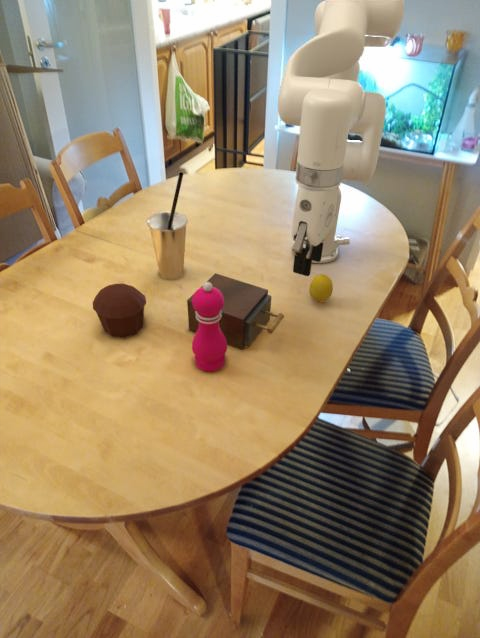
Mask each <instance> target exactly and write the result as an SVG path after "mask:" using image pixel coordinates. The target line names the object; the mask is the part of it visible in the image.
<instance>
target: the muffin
mask: <svg viewBox="0 0 480 638" xmlns="http://www.w3.org/2000/svg"><path fill="white" fill-rule="evenodd" d="M146 305H147V299H146V295H145V294H144V293H143V292H141V291H140V290H138V289H137V288H136V287H135V286H133V285H129V284H127V283H113V284H108V285H106V286H105V287H103V288H101V289H100V290H99V291H98V292H97V294H96V295H95V297H94V299H93V301H92V310H93V311H94V312H95V313H96V315H97V317H98V319H99V322H100V324H101V326H102V328H103V331H104V332H105V333H106V334H108V335H109V336H111V338H121V339H126V338H128V337H131V336H135V335H137V334H138V333H139V332H140V331H141V330H142V329H143V328H144V318H145V317H144V316H145V306H146Z"/></svg>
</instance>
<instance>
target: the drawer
mask: <svg viewBox="0 0 480 638" xmlns="http://www.w3.org/2000/svg"><path fill="white" fill-rule="evenodd" d="M271 308H272V295H269V294H268V295H266V296H265V297H264V299H263V300H262V301H261V302H260V303H259V304H258V305H257V306H256V307H255V309H254V310H253V311H252V312H251V313H250V315H249V316H248V317H247V318H246V319H245V322H244V346H245V348H249V347H251V345H252V343H253V342H254V341H255V340H256V338H257V337H258V336H259V335H260V334H261V332H262V330H265V331H266V332H267V333H268V334H269V335H272V334H273V333H274V332H275V330H277V327H278V326H279V325H280V323H282V321H283V320H284V318H285V315H284V314H283V313H282V312H279V313H277V312H276V313H275V312H272V310H271ZM271 317H273V318H274V319H273V320H272V322H271V323H270V325H268V323H269V321H270V320H271ZM267 325H268V326H267Z"/></svg>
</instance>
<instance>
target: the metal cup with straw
mask: <svg viewBox="0 0 480 638" xmlns="http://www.w3.org/2000/svg"><path fill="white" fill-rule="evenodd" d="M183 178H184V173H183V172H181V171H180V172H178V178H177V182H176V186H175V191H174V196H173V201H172V206H171V210H164V211H158V212H155V213H153V214H151V215H150V216H148V217H147V219H146V225H147V226H148V228H149V231H150V236H151V241H152V246H153V249H154V254H155V258H156V262H157V268H158V273H159V276H160V277H161V278H163V279H166V280H176V279H179V278H181V277H182V276H183V275H184V272H185V270H184V269H185V252H186V235H187V225H188V224H189V218H188V216H187V215H185V214H184V213H182V212H179V211H176V209H177V204H178V200H179V196H180V191H181V186H182V182H183Z"/></svg>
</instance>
